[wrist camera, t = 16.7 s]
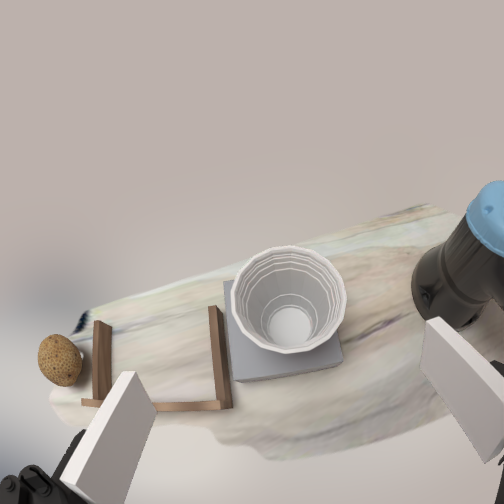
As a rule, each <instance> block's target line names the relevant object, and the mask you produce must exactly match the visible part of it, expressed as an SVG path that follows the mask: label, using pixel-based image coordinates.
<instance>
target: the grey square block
mask: <svg viewBox="0 0 504 504" xmlns="http://www.w3.org/2000/svg"><path fill="white" fill-rule="evenodd" d="M234 281H235V280H230V281H224V282H223V284H224V295H225V305H226V316H227V326H228V335H229V345H230V354H231V363H232V372H233V380H235V381H238V382H241V383H245V382H253V381H261V380H267V379H274V378H280V377H286V376H292V375H297V374H303V373H308V372H313V371H318V370H322V369H327V368H331V367H336V366H338V365H339V364H340V363H342V362H343V356H342V351H341V346H340V342H339V337H338V333H337V329H336V331H335V332H334V333H333V335H332V336H331V338H330V339H328V340H326V341H325V342H323V343H321V344H320V345H318V346H316V347H315V348H313V349H311V350H310V351H303V352H296V353H288V354H283V353H280V352H276V351H272V350H268V349H265V348H261V347H260V346H259V345H257V344H256V343H255V342H253V341H252V340H251V339H250V338H248V337H247V336H246V335H245V334H243V333H242V331H241V329H240V327H239V326H238V324H237V322H236V320H235V318H234V316H233V314H232V309H231V292H230V291H231V289H232V286H233V283H234Z"/></svg>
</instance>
